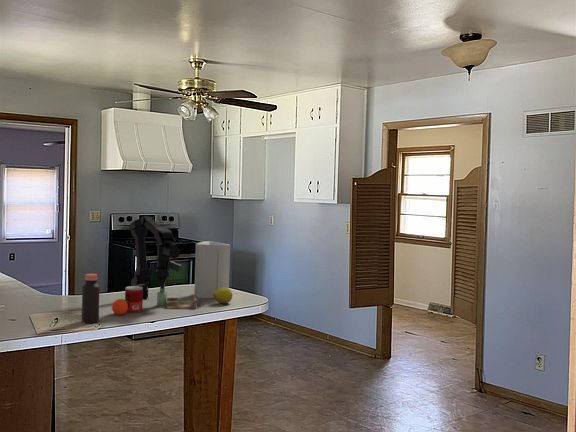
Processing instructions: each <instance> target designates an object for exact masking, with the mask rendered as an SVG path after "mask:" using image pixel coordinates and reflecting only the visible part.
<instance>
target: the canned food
mask: <svg viewBox="0 0 576 432" xmlns="http://www.w3.org/2000/svg"><path fill="white" fill-rule="evenodd" d="M124 291H125V292H124V299H125V301H126V300H127V301H128V302H127V301H126V302H127V304H128V303H129V304H128V309H127V311H126V312H125V313H127V314H128V313H129V314H130V313H131V314H133V313H134V314H135V312H137V313H141V312H142V311H143V300H144V299H143V287H141V286H130V285H128V286H126V287H125V290H124Z"/></svg>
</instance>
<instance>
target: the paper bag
mask: <svg viewBox="0 0 576 432" xmlns="http://www.w3.org/2000/svg"><path fill="white" fill-rule="evenodd" d="M194 261H195V262H194V263H195V266H194V288H193V289H194V290H193V291H194V295H196V298H199V299H215V298H214V296H213V295H214V293H215V292H216V291H217V290H218V289H220V288H228V289H230V270H231V269H230V266H231V265H230V263H231V262H230V261H231V244H228V243H223V242H218V241H217V242H216V241H211V240H207V241H201V242H197V243H195V260H194ZM194 295H193V296H194Z"/></svg>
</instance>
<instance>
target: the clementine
mask: <svg viewBox="0 0 576 432" xmlns="http://www.w3.org/2000/svg"><path fill="white" fill-rule="evenodd" d="M126 301H127V300H126ZM126 301H125V298H119V299H115V300H114V301H113V303H112V305H111V310H112V312H113V314H115V315H118V316H122V315H124V314H125V313H127V312H126V311H127V309H128V304H129V303H128V304H127V302H128V301H127V302H126Z"/></svg>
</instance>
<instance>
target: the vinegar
mask: <svg viewBox="0 0 576 432" xmlns="http://www.w3.org/2000/svg"><path fill="white" fill-rule="evenodd" d="M84 281H85V282H84V284H83V285H82V294H81V295H82V296H81V323H83V322H85V323H84V324H96V323H98V322H99V321H100V320H99V318H100V285H99V284H98V274H97V273H86V274H85V275H84Z"/></svg>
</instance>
